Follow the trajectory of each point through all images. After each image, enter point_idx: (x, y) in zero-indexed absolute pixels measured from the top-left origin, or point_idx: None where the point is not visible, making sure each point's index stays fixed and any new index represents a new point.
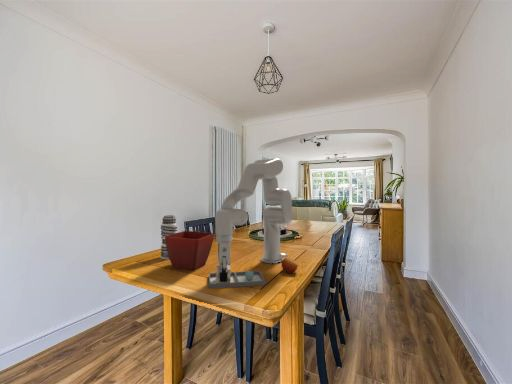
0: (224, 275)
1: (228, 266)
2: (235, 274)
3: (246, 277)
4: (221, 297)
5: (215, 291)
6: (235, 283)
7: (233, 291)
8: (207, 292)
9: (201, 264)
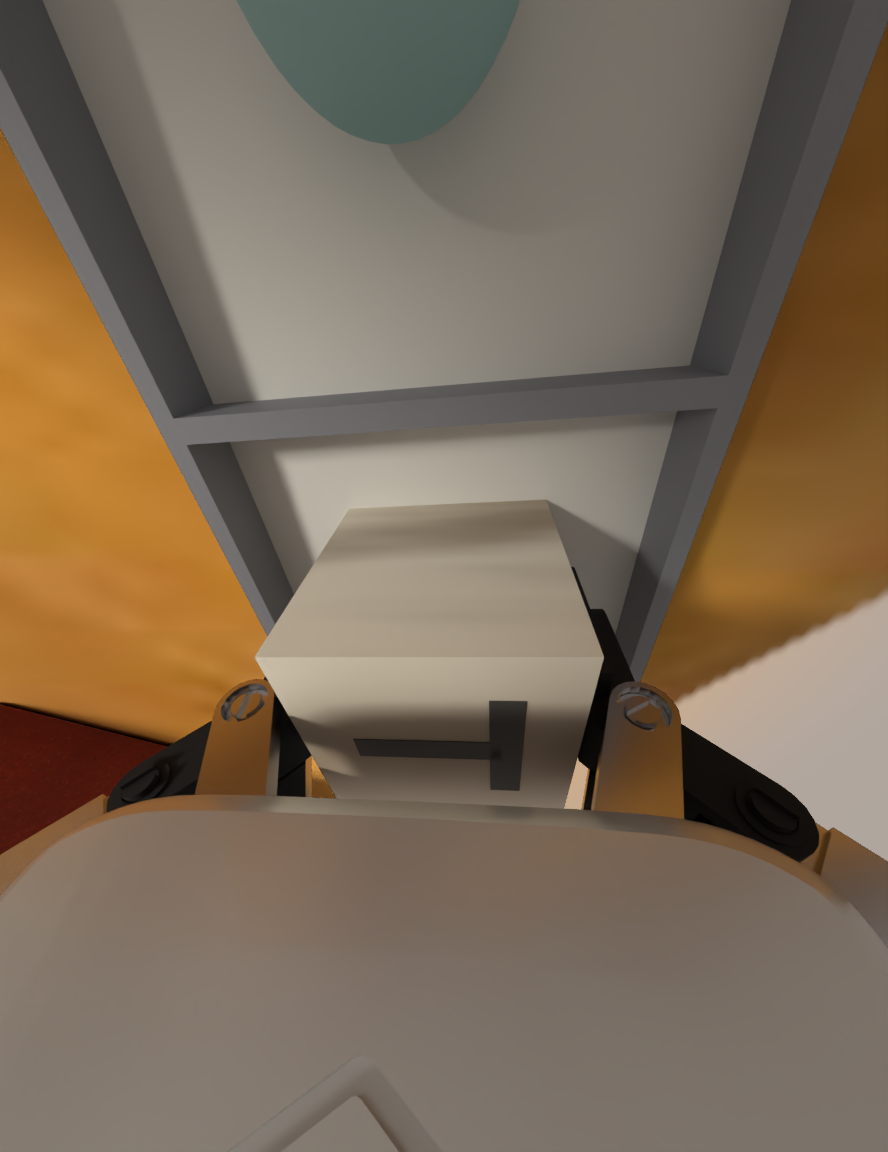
0: (621, 671)
1: (347, 678)
2: (292, 425)
3: (483, 80)
4: (883, 595)
5: (687, 640)
6: (721, 440)
7: (810, 456)
8: (676, 690)
9: (74, 745)
